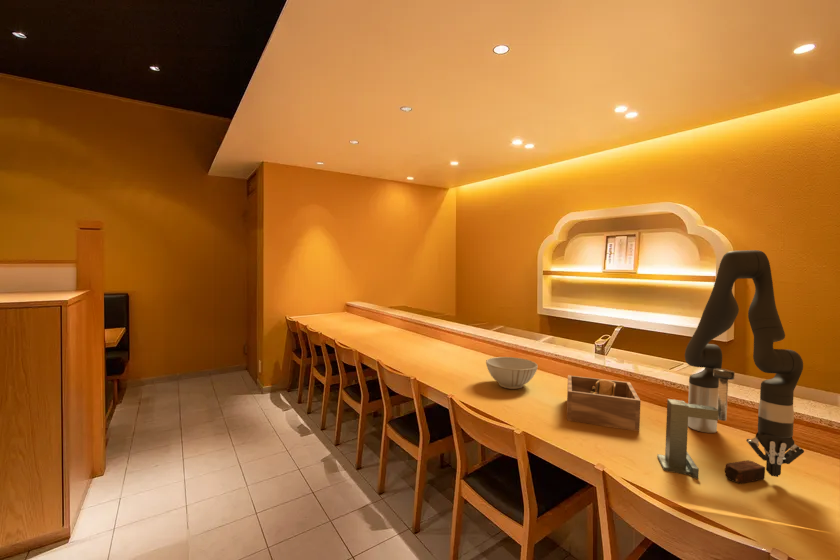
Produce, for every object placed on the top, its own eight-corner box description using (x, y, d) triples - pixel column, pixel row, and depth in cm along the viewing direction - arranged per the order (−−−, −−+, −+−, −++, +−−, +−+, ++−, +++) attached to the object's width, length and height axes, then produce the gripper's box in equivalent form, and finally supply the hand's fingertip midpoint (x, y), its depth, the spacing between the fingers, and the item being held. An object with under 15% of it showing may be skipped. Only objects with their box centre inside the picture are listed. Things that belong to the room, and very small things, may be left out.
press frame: (656, 454, 126) (658, 394, 125) (706, 463, 121) (709, 400, 120) (665, 472, 115) (667, 406, 114) (720, 483, 110) (723, 414, 109)
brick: (765, 480, 111) (748, 471, 116) (766, 467, 111) (748, 459, 116) (738, 484, 109) (722, 475, 113) (739, 471, 109) (722, 463, 113)
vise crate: (567, 400, 178) (567, 375, 178) (628, 408, 168) (629, 382, 168) (567, 420, 154) (568, 391, 153) (639, 431, 144) (640, 400, 144)
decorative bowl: (529, 397, 181) (529, 372, 181) (477, 387, 195) (478, 364, 195) (542, 383, 204) (543, 361, 203) (495, 375, 218) (496, 354, 217)
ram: (708, 415, 117) (711, 367, 117) (728, 417, 116) (730, 369, 115) (714, 421, 113) (717, 371, 112) (735, 423, 111) (737, 373, 110)
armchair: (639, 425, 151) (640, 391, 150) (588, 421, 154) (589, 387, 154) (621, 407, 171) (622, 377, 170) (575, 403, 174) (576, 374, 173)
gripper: (797, 415, 111) (794, 473, 111) (741, 409, 115) (739, 464, 116) (813, 425, 104) (810, 487, 104) (753, 418, 108) (751, 476, 109)
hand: (773, 475), depth 110 cm, fingers closed
